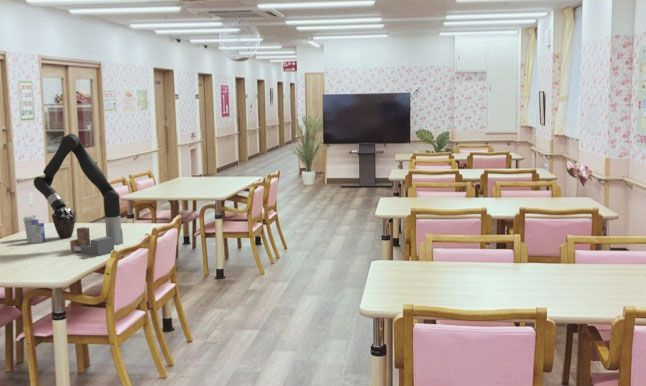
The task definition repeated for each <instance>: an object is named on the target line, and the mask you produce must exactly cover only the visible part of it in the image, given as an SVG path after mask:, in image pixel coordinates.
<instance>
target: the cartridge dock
mask: <svg viewBox="0 0 646 386" xmlns="http://www.w3.org/2000/svg"><path fill="white" fill-rule="evenodd" d="M90 244H91V247H90V246H83V245H82V246H81V251H80V254H81V255H87V256H95V257H101V256H105V255H109V254H112V253H111V251H112V250H114V251H115V245H114V239H113V237H107V236H106V235H105V236H102V237H97V238H93V239H90Z"/></svg>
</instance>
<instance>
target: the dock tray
mask: <svg viewBox="0 0 646 386" xmlns="http://www.w3.org/2000/svg"><path fill="white" fill-rule="evenodd" d="M69 244H70V251H72V252H73V251H77V252H81V247H78V241H77V238H76V239H72V240H69ZM90 247H91V243H90Z"/></svg>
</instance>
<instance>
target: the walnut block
mask: <svg viewBox="0 0 646 386" xmlns="http://www.w3.org/2000/svg"><path fill="white" fill-rule="evenodd" d="M76 236H77V237H76V239H77V241H78V247H81V246H82V245H83V246H90V244H91V242H90V240H91V238H90V237H91V236H90V227H86V226H85V227H84V226H82V227H79V228H76Z"/></svg>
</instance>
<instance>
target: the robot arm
mask: <svg viewBox="0 0 646 386" xmlns="http://www.w3.org/2000/svg"><path fill="white" fill-rule="evenodd" d="M71 152H72V153H73V155H74V156H75V158H76V160H77V161H78V165H79V167H80V169H81V170H82V173H83V174H84V175H85V176H86V178H87V179H88V180H89V182H91V184H93V185H94V186H95V187H96V188H97V189H98V191H99V192H100V193H101V195H102V197H103V208H104V218H105V234H106V235H105V237H106V236H107V237H113V239H114V246H115V245H116V246H117V245H120V244H124V236H123V228H122V221H121V219H122V217H121V206H120V205H121V203H120V194H119V192H117V190H115V188H114V187H113V186H112V185H111V184H110V183H109V182H108V180H107V178H106V175H104V173H103V171H102V170H101V168H100V166H99V165H98V164H97V163H96V162H95V160H94V159H93V157H92V156H91V155H90V153H89V152H88V151H87V149H86V148H85V147H84V144H83V143H82V141H81V140H80V138H79V137H78V136H77V135H76V134H74V133H68V134H66V135H65V136H64V137H63V138H62V139H61V141H60V144H59V146H58V148H57V150H56V151H55V153H54V155H53V156H52V158H51V159H50V160H49V162H48V164H47V165H46V166H45V167H44V169H43V174H44V176H37V177H35V178H34V179H33V185H34V187H35V189H36V190H37V191H38V192H40V193H41V195H43V196H44V198H45V199H46V201H47V203H48V204H49V205H50V206H49V207H51V209H52V210H53V213H52V214H53V216H55V217H56V218H57V219H58V220H60V221H61V220H62V221H64V223H65V224H66V225H68V224H69V222H68V220H67V219H65V217H67V218H68V219H69V220H70V222H71V223H72V224H74V223H76V220H75V221H74V219H73V217H74V213H73V212H74V210H73V208H68V207H67V206H66V203H65V202H64V200H63V199H62V198H61V196H60V195H59V194H58V193H57V191H56V189H54V187H51V185H52V184H53V181H54V179H55V175H56V174H57V173H58V171H59V170H60V168H61V167H62V165H63V162H64V161H65V158H67V156H68V155H69V154H70V153H71ZM69 216H70V217H69ZM59 217H60V218H59Z"/></svg>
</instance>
